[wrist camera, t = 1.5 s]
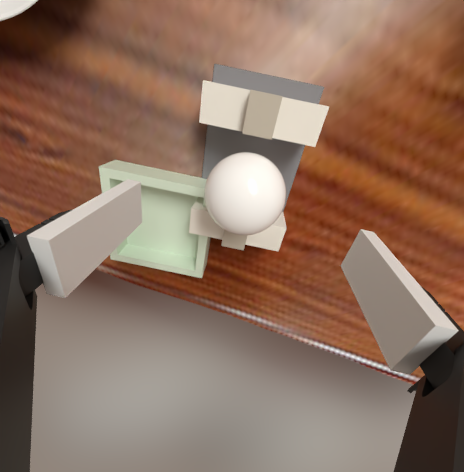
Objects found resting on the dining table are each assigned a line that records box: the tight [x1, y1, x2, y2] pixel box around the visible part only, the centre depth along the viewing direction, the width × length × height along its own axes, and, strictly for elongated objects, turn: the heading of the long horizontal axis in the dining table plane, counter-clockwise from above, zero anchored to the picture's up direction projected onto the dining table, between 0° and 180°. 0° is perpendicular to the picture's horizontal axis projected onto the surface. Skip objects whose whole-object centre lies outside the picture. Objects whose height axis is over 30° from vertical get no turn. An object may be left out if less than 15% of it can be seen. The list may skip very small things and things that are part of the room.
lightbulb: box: [204, 152, 286, 235], centre depth 20 cm, size 6×6×11 cm
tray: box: [99, 160, 211, 278], centre depth 27 cm, size 12×12×3 cm
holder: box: [189, 64, 329, 251], centre depth 23 cm, size 10×17×6 cm, turn 170°
